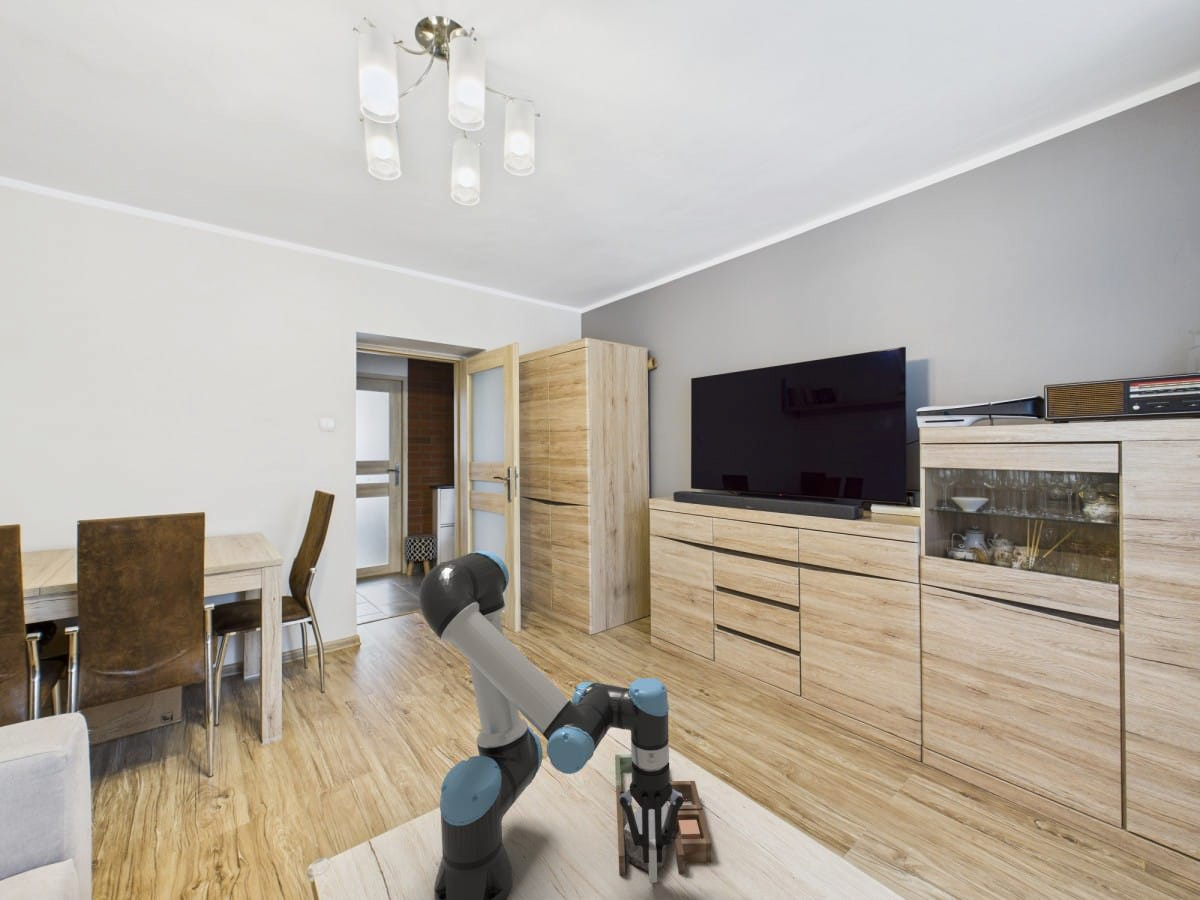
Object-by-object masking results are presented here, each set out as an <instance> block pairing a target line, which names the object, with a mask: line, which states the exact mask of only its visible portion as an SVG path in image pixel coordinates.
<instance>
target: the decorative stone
mask: <svg viewBox="0 0 1200 900" xmlns="http://www.w3.org/2000/svg"><path fill="white" fill-rule="evenodd" d="M633 812H634V816H635V819H636V823H637V827H638V831H639V834H642V808H641V807H640V806H639V807H638V808H637V809H635V810H634V811H633ZM668 812H669V803H668V801H667V802H666V803H665V804H664V806H663V807H662V816H661V817H662V834H663V833H664V830H665V825H666V821H667V816H668ZM623 832H624V840H625V845H626V848H625V855H626V858H627V860H628V861H629V862H630V863H631V864H633V865H635V866H636V867H638V868H640V869H642V870H644V871H646V872H648V873H649V864H648V863H644V861H643V847H642V846H640V845H639V846H635V845H634V842H633V838H632V835H631V831H630V827H629V823H628V822H627V823H626V824H625V825H624V827H623ZM649 839H655V815H654V809H650V810H649ZM662 848H663V850H662V862H661V863H657V872H659V870H661V868H662V866H663V865H664V864H665V859H666V856H667V854H666V851H667V849H668V846H667V845H664V846H663V847H662Z"/></svg>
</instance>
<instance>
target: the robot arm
mask: <svg viewBox="0 0 1200 900" xmlns="http://www.w3.org/2000/svg"><path fill="white" fill-rule="evenodd" d="M509 582H510V573H509V571H508V567H507V565H506V564H505V562H504V560H502V558H501V557H500V556H498V555H496V554H495V552H494V553H493V552H491V551H488V550H478V551H474V552H472V551H471V552H470V553H466V554H464V555H462V556H459V557H455V558H454V559H453V558H452V559H451V560H449V561H446V562H442V563H440V564H438V565H437V564H436V565H435V566H434V567H433V568H432V569H429V571H428V572H427V573H426V574H425V576H424V578H423V579H422V581H421V584H420V588H419V591H418V603H419V607H420V610H421V613H422V616H423V617H424V620H425V622H426V623H427V625H428V626H429V628H430V629H431V630H432V632H434V634H435V635H436V636H437V637H438V638H439V639H440V640H441V641H442V642H451V643H452V644H453V645H454V646H455V647H456V648H457V649H458V650H459V651H460V652H461V654H463V656H465V657H466V658H467V660H468V664H469V669H470V673H471V680H472V684H473V685H472V686H473V690H474V696H475V700H476V707H477V712H478V718H479V722H480V727H481V730H480V731H479V734H478V735H477V737H476V746H477V751H478V755H476V756H470V757H468V760H465V759H463V760H460V761H459V762H458V763H457V764H455V765H454V766H453V767H452V768H451V769H450V770H449V771H447V773H446V775H445V777H444V779H443V780H442V784H441V789H440V800H439V810H440V819H441V820H440V823H441V824H440V826H441V846H442V849H441V850H442V851H441V852H442V856H441V860H440V863H439V867H438V869H437V870H438V871H437V874H436V877H435V881H434V886H433V887H434V889H433V890H434V891H433V893H434V895H433V896H434V899H435V900H505V899H506V898H508V897H509V895H510V893H511V890H512V886H513V871H512V870H513V869H512V865H511V861H510V858H509V855H508V854H507V851H506V848H505V845H504V843H503V826H502V825H503V824H502V823H503V822H502V821H503V817H504V816H505V815H506V813H507V812H508V811H509V810H510V808H511V807H512V806H513V805H514V804H515V802H516V801H517V800H518V799H519V798H520V796H521V794H523V792H524V791H525V790H526V788H527V787H528V786H529V785H531V783H533V780H534V779H535V778H536V775H537V773H538V772H539V770H540V768H541V765H542V762H543V753H544V752H543V747H542V742H541V740H540V737H539V736H538V734H536V733H534V729H532V728H531V727H530V726H529V725H528V722H529V723H530V724H531V725H532V726H533V727H534V728H536V729H537V730H538V731H539V733H541V735H542V736H543V737H544V738H545V739H546V740H547V743H546V754H547V757H548V759H549V761H550V764H551V765H552V766H553V768H554V769H556V770H557V771H559V772H561V773H563V774H567V775H571V774H572V775H574V774H575V773H577V772H580V771H581V770H583V768H584V766H585V765H587V763H588V762H589V761H590V760H591V759H592V757H593V755H594V753H595V751H596V750H597V748H598V747H599V745H600V744H601V741H602V740H603V739H604V737H605V736H606V734H607V733H608V731H609V729H610V728H615V729H618V730H627V731H630V748H631V749H630V751H631V752H630V753H631V757H632V772H631V782H630V784H629V789H627V790H626V791H624V790H621V792H620V804H621V806H622V810H623V811H625V815H626V819H627V823H629V827H630V831H631V835H632V838H633V842H634V845H635V846H639V845H640V846H642V847H643V861H644V863H648V864H649V872H648V877H649V883H658V871H657V863H661V862H662V850H663V848H662V847H663V846H664V845H667V847H670V846H671V844H672V841H673V838H674V833H675V832H674V828H675V824H676V820H677V815H678V811H679V809H680V807H681V806H682V805H684V801H685V800H683V796H682V792H681V791H680V790H678V791H675V790H674V789H672V785H671V783H670V774H671V773H670V748H669V747H670V746H669V744H670V743H669V742H670V741H669V740H670V739H669V711H670V707H669V699H668V690H667V687H666V685H665V684H664V683H663V682H662V681H661V680H659V679H657V678H653V677H646V678H643V677H641V678H637V679H635V680H633V681H632V682H631V684H630V686H629V687H621V686H618V685H617V686H616V685H612V684H606V683H602V682H601V683H600V682H596V681H594V682H593V681H592V682H591V681H582V682H580V683H578V684H577V686H576V687H575V690H574V692H573V694H572V695H573V696H572V698H571V699H572V700H570V699H569V698H568V697H567V696H566V695H565V694H564V693H563V692H562V691H561V690H560V689H559V688H558V687H557V686H556V685H555V683H553V682H552V681H550V679H548V677H546V675H544V673H543V672H542V671H540V669H538V668H537V667H536V666H535V665H534V663H532V661H530V660H529V659H528V658H527V657H526V656H525V655H524V654H523V653H522V652H521V651H520V650H519V649H518V648H517V647H516V646H515V645H514V644H513V643H512V642H511V641H510V640H509V639H508V638H506V637H505V634H504V630H503V629H504V628H503V625H502V619H501V614H502V612H503V611H504V609H505V607H506V603H505V600H504V592H505V591H506V589H507V587H508V586H509ZM519 713H521V715H523V716H524V718H526V719H527V720H528V722H527V721H526V720H525V719H524V718H521V717H520V715H519ZM670 796H671V797H670ZM669 797H670V799H671V800H670V804H669V805H670V808H669V812H668V816H667V821H666V825H665V830H664V833H663V834H662V817H661V816H662V807H663V806H664V804H665V803H666V802H667V803H668V801H667V800H668V799H669ZM632 798H633V799H634V801H635V802H636V803H637V805H638V806H639V807H641V808H642V834H639V831H638V827H637V823H636V819H635V816H634V812H635V811H634V809H633V805H632V804H633V799H632ZM650 809H654V815H655V839H649V810H650ZM434 899H433V900H434ZM506 900H507V899H506Z"/></svg>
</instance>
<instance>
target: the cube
mask: <svg viewBox="0 0 1200 900" xmlns="http://www.w3.org/2000/svg"><path fill="white" fill-rule="evenodd" d="M678 839H700V832H699V828H698V824H697V820H679V832H678Z"/></svg>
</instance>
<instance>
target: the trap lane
mask: <svg viewBox="0 0 1200 900" xmlns="http://www.w3.org/2000/svg"><path fill="white" fill-rule="evenodd" d="M614 759H615V760H614V763H615V764H614V765H615V770H614V771H615V795H616V798H615V799H616V819H617V821H616V822H617V844H618V845H617V849H618V853H617V854H618V871H619V872H618V874H619V876H621V875H622V876H625V875H626V857H625V855H626V850H625V835H624V818H623V807H622V806H621V804H620V792H621V791H622V778H621V773H632V757H631V754H629V753H628V754H627V753H626V754H615V755H614ZM670 783H671V785H672V789H674V790H675V791H678V790H680V791H681V792H682V796H683V799H684V800H683V801H692V802H691V804H682V806H681V807H680V809H679V811H678V815H677V820H676V824H675V828H674V833H679V820H697V824H698V828H699V832H700V839H679V838H675V860H676V866H677V871H678V875H682V874H683V875H685V863H708V862H709V863H711V862H713V860H712V859H713V857H712V855H713V853H712V850H713V849H712V847H713V846H712V841H711V837H710V833H709V829H708V826H707V821H706V819H705V813H704V811H703V806H702V802H701V800H700V799H701V798H700V795H699V791H698V787H697V784H696V781H695V780H671V781H670ZM670 797H671V796H670ZM670 797H669V799H668V800H667V802H668V801H670V802H671V799H670ZM686 799H687V800H686ZM689 799H690V800H689ZM668 806H669V808H670V804H668Z"/></svg>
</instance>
